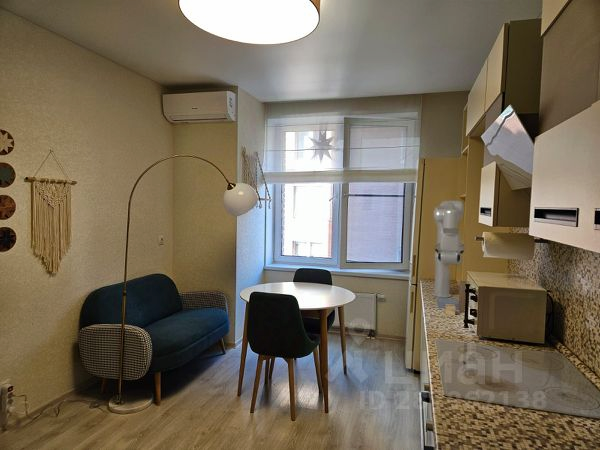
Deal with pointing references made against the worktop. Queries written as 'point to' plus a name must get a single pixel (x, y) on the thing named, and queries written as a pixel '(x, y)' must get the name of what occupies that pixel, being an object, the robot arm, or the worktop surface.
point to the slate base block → (447, 302)
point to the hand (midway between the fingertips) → (448, 261)
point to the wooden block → (462, 296)
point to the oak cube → (449, 309)
